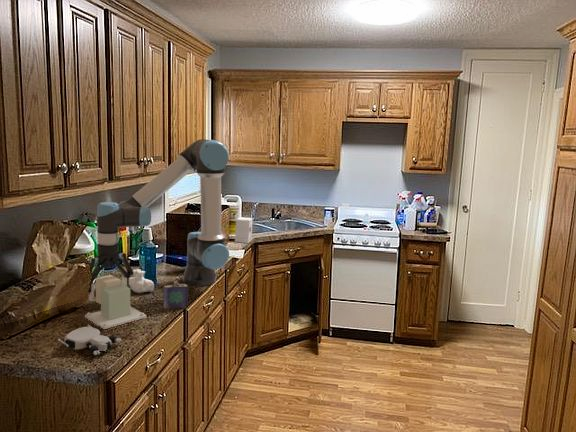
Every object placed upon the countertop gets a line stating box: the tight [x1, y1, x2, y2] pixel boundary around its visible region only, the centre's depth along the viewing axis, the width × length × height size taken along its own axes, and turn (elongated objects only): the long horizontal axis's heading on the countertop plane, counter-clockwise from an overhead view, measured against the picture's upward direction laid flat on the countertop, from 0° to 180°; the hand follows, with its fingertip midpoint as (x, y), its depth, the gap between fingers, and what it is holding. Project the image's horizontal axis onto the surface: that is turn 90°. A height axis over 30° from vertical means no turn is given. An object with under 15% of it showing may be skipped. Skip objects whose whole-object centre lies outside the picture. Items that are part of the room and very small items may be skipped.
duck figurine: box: [128, 268, 155, 294], centre depth 191 cm, size 12×8×11 cm
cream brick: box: [95, 274, 122, 305], centre depth 177 cm, size 6×8×10 cm
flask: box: [162, 280, 189, 310], centre depth 177 cm, size 9×3×11 cm, turn 109°
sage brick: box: [100, 283, 131, 320], centre depth 163 cm, size 8×6×10 cm
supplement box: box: [234, 216, 254, 244], centre depth 292 cm, size 9×9×15 cm
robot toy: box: [57, 324, 122, 356], centre depth 142 cm, size 12×4×15 cm
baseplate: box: [84, 306, 147, 329], centre depth 164 cm, size 16×14×2 cm
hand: (108, 296), depth 177 cm, fingers open, 13 cm apart
